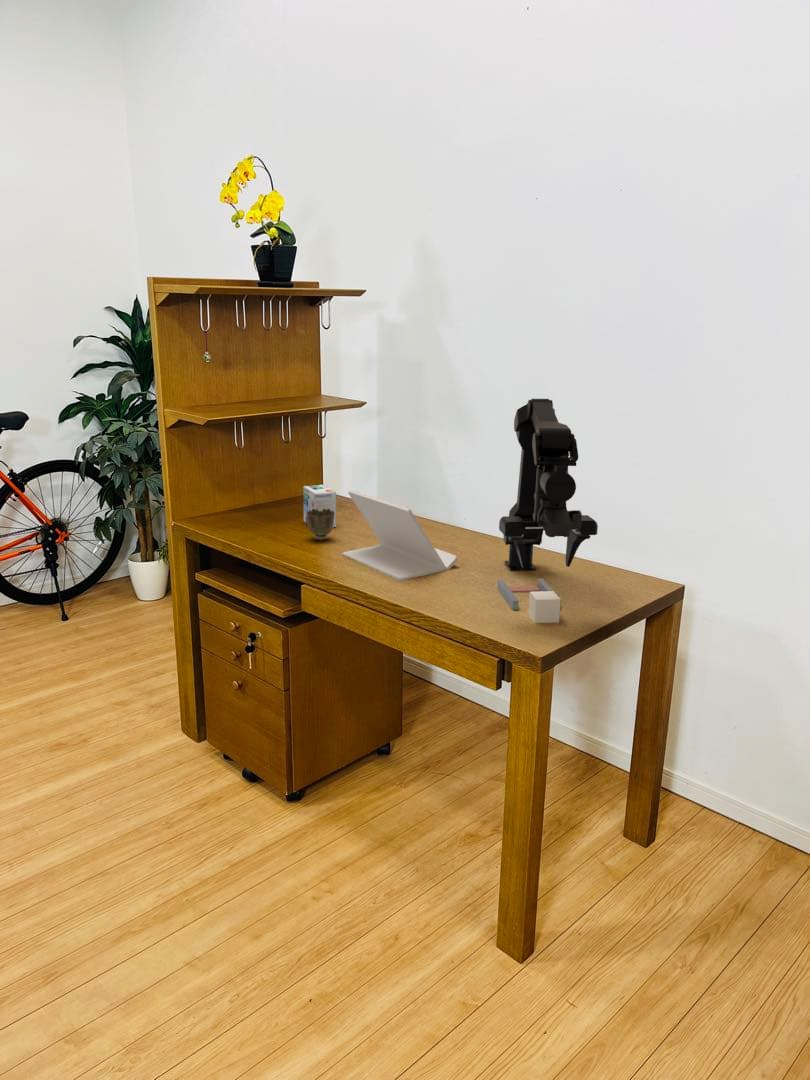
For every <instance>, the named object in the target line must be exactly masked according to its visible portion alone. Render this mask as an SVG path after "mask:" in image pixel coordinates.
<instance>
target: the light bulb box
mask: <svg viewBox="0 0 810 1080" xmlns="http://www.w3.org/2000/svg"><path fill="white" fill-rule="evenodd" d="M302 489H303V491H302V492H303V493H302V494H303V498H302V499H303V522H304V523H305V524H306V523H307V525H308V518H307V511H308V512H309V510H310V511H311V510H312V509H315V510H316V509H318V511H319V512H320V511H321V512H322V511H323V509H326V510H327V509H330V510H331V512H332V510H333V512H335V513H334V522H333V527H336V528H337V490H336V491H335V490H334V489H332V488H331V487H328V486H327V485H325V484H317V485H304V486H302Z"/></svg>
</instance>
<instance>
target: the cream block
mask: <svg viewBox="0 0 810 1080" xmlns="http://www.w3.org/2000/svg"><path fill="white" fill-rule="evenodd" d="M555 593H556V592H555V591H554V590H553V591H535V592H529V595H528V596H529V597H528V615H529V617H530V618H531V620H532V621H533V623H534V624H544V623H545V624H547V623H560V613H561V611H560V610H561V608H560V601H561V602H562V599H561V598H560V596H559V595H558V594H557V593H556V594H557V595H558V596H557V595H556V594H555Z"/></svg>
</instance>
